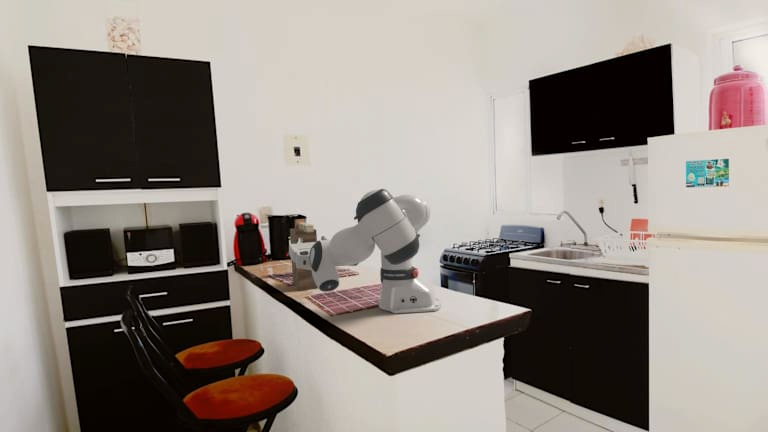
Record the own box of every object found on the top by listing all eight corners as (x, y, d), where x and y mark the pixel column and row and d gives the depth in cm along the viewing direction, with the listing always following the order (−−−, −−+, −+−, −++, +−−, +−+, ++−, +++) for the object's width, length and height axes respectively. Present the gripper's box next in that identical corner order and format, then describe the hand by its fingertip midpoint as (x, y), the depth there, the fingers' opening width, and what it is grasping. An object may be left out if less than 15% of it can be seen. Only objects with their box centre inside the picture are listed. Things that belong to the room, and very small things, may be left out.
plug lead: (315, 231, 172) (314, 222, 172) (305, 232, 170) (304, 223, 170) (303, 227, 195) (303, 219, 195) (295, 228, 194) (294, 219, 193)
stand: (319, 288, 183) (316, 229, 181) (299, 291, 180) (295, 231, 178) (312, 281, 198) (308, 227, 196) (293, 283, 194) (289, 228, 193)
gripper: (346, 250, 160) (337, 230, 171) (292, 255, 152) (286, 234, 163) (344, 262, 163) (335, 242, 174) (292, 268, 156) (286, 246, 166)
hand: (311, 238), depth 168 cm, fingers open, 8 cm apart
